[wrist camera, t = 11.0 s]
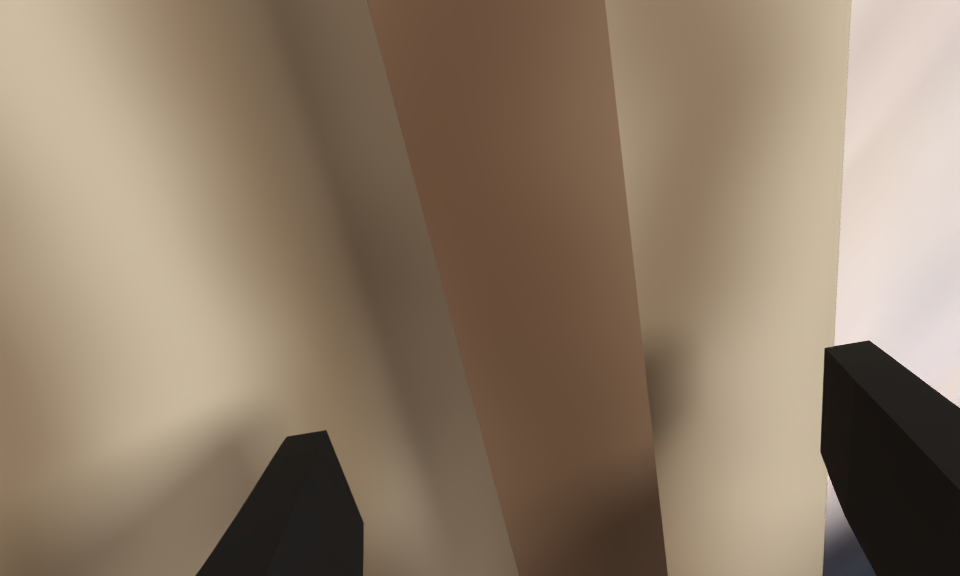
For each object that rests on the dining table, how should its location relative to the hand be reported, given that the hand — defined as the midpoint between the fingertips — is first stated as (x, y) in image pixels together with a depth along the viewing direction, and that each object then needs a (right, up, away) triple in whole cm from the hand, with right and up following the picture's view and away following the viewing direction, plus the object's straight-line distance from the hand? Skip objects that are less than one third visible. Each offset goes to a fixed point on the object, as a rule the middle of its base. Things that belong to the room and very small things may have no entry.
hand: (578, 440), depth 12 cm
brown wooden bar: (0, +2, +3) cm, 3 cm away
